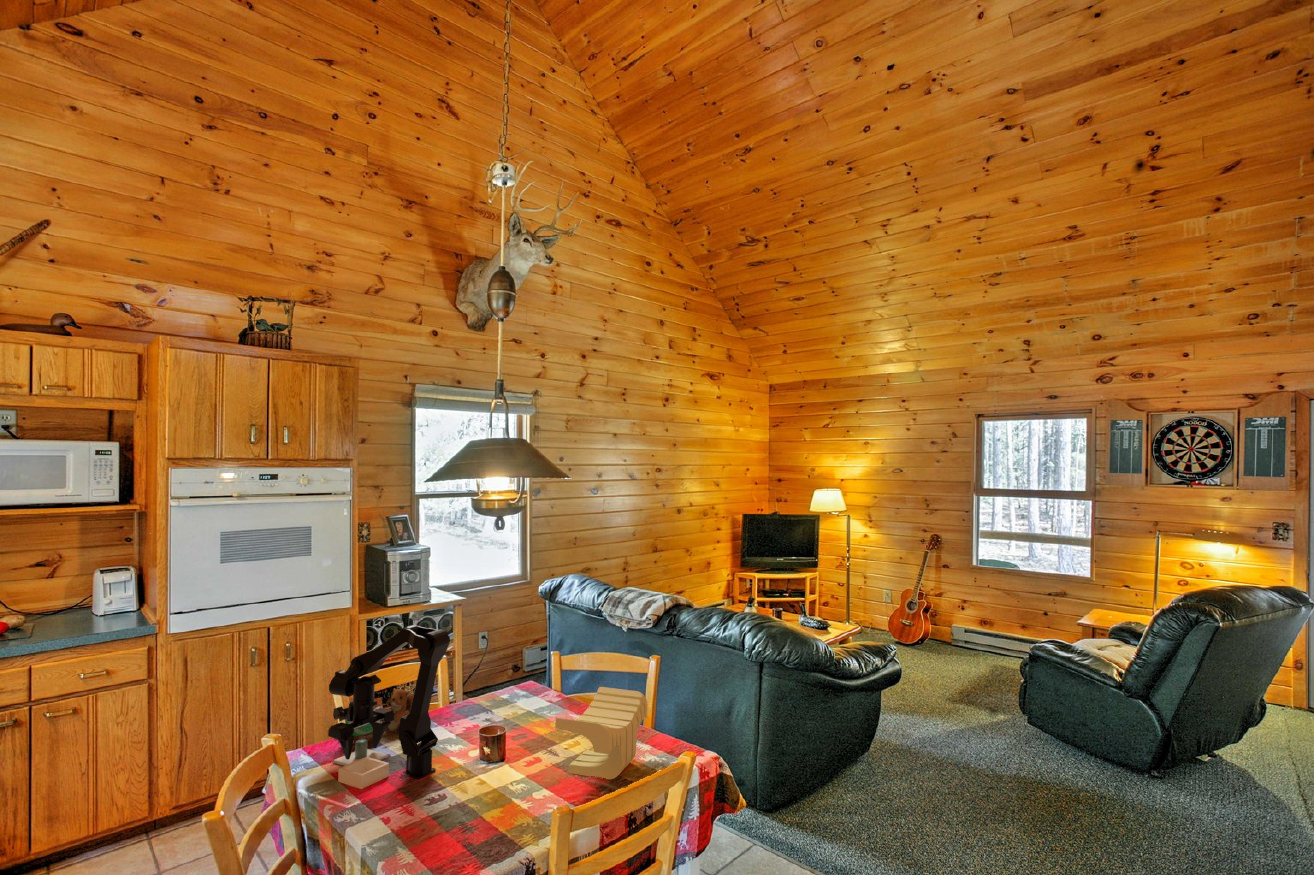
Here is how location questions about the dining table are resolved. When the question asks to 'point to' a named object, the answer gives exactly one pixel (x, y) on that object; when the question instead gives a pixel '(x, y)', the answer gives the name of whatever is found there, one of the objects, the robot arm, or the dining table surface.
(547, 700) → the dining table surface
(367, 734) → the food container
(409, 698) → the stuffed squirrel
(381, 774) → the dish
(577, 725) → the slatted curved stool
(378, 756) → the lid
